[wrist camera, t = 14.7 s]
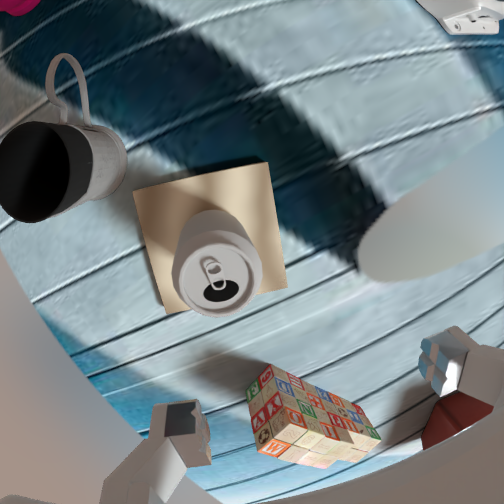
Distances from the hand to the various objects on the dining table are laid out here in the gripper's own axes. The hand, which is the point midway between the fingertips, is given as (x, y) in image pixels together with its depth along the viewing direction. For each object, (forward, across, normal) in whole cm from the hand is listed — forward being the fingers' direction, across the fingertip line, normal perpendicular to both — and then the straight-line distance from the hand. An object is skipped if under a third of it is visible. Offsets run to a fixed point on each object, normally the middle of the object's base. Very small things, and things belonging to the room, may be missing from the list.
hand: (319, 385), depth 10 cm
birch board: (+28, +4, +2) cm, 29 cm away
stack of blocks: (+29, -5, +32) cm, 43 cm away
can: (+27, +4, +2) cm, 27 cm away
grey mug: (+28, +15, -12) cm, 34 cm away
